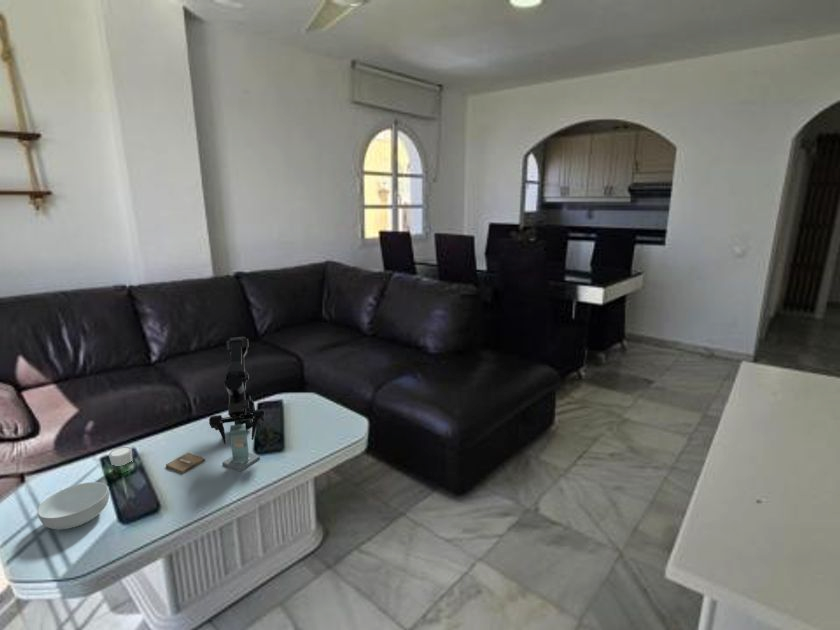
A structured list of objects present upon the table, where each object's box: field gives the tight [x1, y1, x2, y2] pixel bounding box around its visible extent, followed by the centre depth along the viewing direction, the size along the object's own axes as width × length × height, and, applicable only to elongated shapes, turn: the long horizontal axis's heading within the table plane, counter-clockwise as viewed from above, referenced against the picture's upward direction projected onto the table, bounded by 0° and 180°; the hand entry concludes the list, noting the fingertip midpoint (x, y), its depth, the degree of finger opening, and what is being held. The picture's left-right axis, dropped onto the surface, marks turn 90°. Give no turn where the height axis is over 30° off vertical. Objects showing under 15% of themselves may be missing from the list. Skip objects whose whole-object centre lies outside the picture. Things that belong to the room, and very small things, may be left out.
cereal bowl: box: [37, 481, 110, 530], centre depth 136 cm, size 17×17×7 cm
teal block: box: [229, 424, 250, 464], centre depth 165 cm, size 5×5×12 cm
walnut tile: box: [165, 452, 206, 474], centre depth 165 cm, size 9×9×1 cm
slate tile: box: [222, 452, 261, 472], centre depth 167 cm, size 9×9×1 cm
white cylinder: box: [108, 446, 133, 466], centre depth 162 cm, size 7×7×7 cm
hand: (238, 441), depth 163 cm, fingers open, 9 cm apart
